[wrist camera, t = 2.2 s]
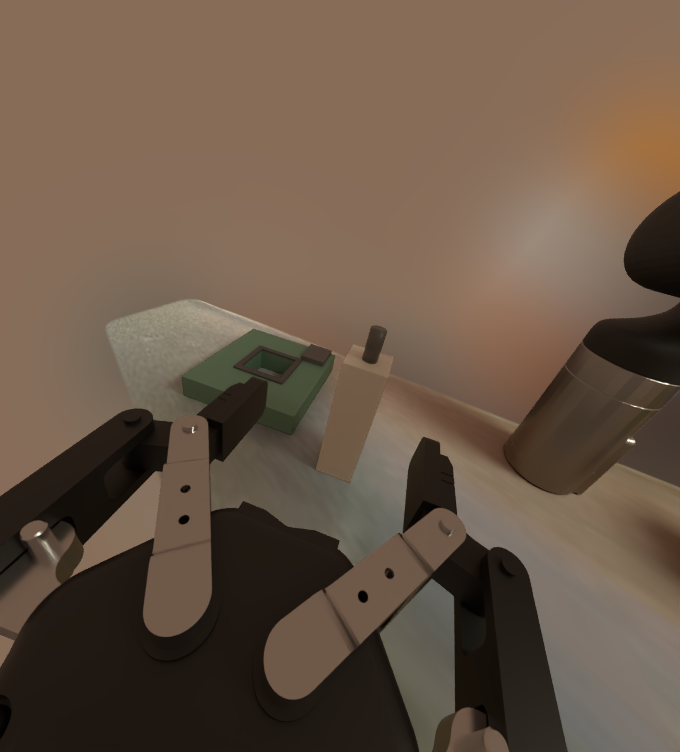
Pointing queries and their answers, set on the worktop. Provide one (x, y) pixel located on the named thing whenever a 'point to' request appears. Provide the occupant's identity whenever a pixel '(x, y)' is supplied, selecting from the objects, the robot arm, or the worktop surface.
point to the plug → (354, 406)
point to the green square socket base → (265, 375)
